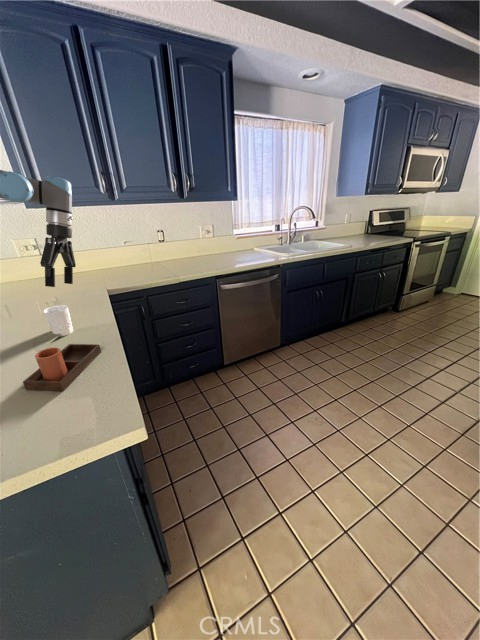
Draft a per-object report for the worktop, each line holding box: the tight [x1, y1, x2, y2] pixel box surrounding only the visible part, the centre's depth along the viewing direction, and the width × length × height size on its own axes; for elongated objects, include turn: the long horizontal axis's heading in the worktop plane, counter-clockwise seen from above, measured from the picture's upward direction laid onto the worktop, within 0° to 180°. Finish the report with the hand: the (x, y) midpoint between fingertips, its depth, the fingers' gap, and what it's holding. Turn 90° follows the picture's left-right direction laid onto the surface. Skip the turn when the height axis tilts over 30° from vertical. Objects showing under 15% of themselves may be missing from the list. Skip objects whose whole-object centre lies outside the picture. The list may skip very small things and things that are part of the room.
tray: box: [22, 343, 102, 392], centre depth 81 cm, size 10×20×3 cm, turn 178°
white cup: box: [42, 304, 74, 338], centre depth 101 cm, size 8×8×10 cm
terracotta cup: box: [34, 346, 68, 381], centre depth 75 cm, size 6×6×9 cm
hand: (59, 285), depth 98 cm, fingers open, 13 cm apart
